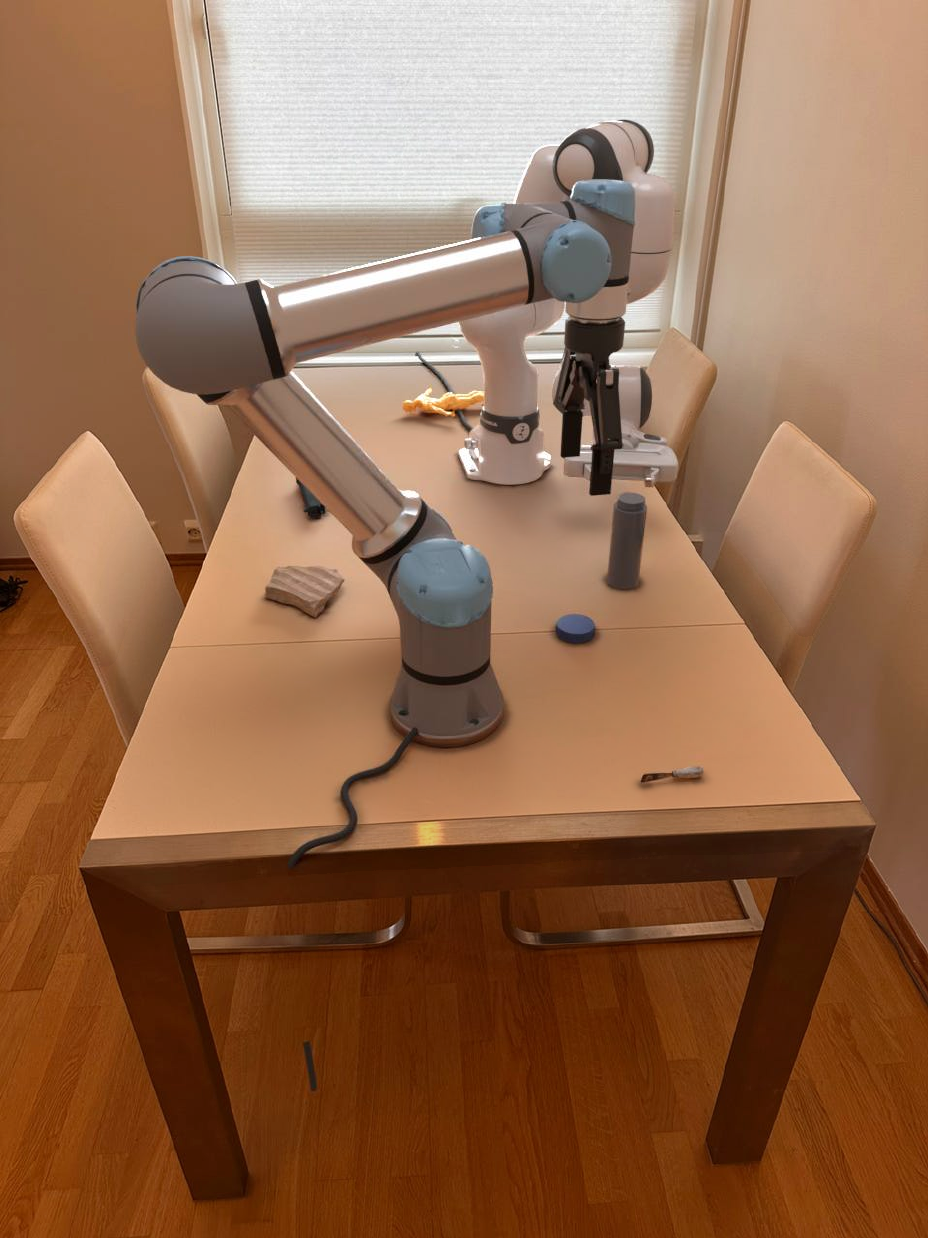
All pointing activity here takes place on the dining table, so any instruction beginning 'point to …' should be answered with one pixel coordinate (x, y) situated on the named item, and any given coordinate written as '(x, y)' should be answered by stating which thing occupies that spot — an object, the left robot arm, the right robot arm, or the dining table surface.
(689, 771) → the putty knife
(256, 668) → the dining table surface
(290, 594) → the stone
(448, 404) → the human figure
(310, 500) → the handgun
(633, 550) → the grey tall cylinder
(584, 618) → the lid
